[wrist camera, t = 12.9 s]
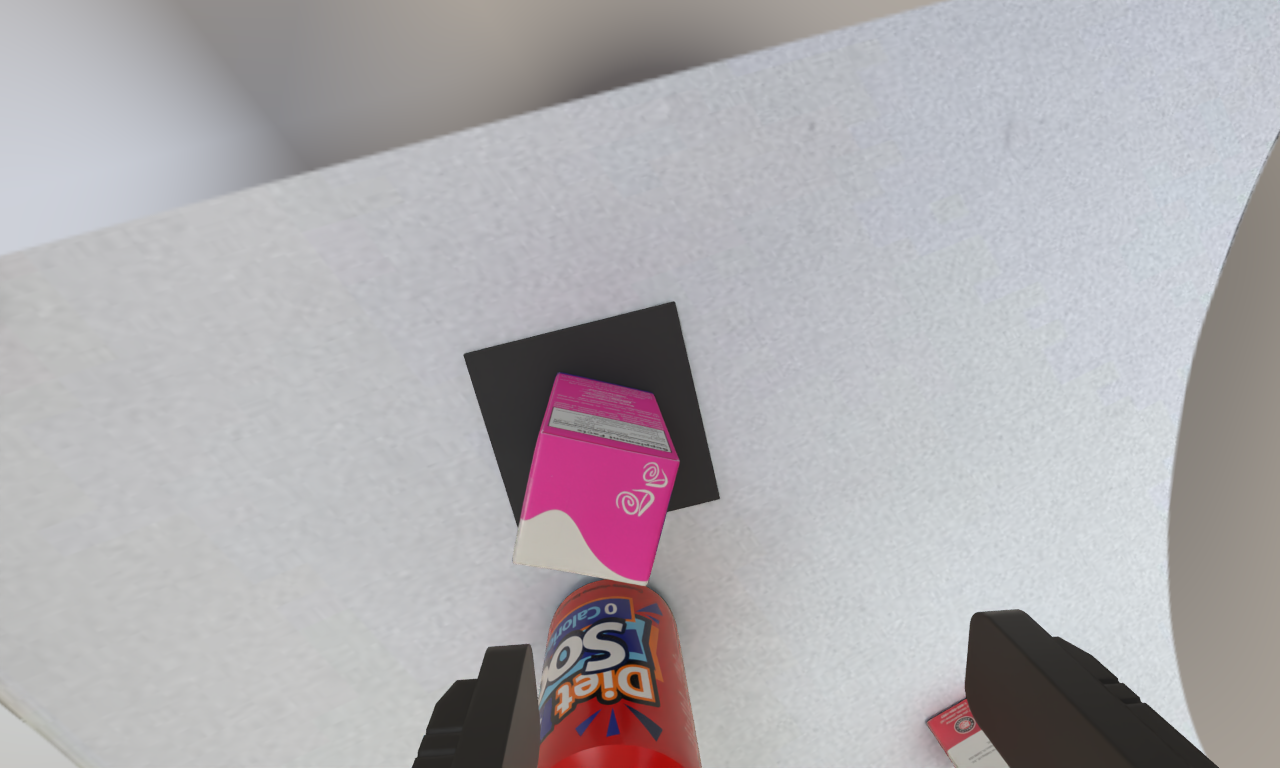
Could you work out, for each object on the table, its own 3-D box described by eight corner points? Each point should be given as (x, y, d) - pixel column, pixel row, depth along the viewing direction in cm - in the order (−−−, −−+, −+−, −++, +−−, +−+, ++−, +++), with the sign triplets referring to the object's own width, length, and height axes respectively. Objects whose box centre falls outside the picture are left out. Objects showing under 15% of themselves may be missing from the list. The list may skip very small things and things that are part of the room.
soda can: (646, 697, 40) (668, 963, 25) (531, 659, 38) (484, 913, 24) (695, 594, 38) (749, 813, 23) (577, 552, 37) (557, 753, 22)
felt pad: (464, 353, 34) (463, 354, 34) (674, 301, 34) (674, 301, 34) (524, 545, 37) (524, 547, 36) (719, 497, 37) (720, 499, 36)
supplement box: (635, 485, 36) (646, 594, 25) (535, 464, 35) (501, 566, 24) (659, 391, 35) (683, 461, 24) (556, 368, 34) (530, 428, 23)
